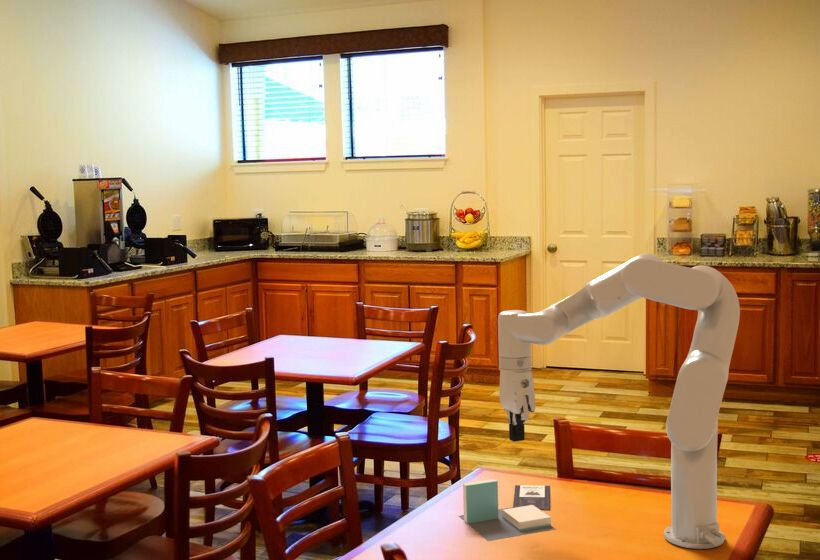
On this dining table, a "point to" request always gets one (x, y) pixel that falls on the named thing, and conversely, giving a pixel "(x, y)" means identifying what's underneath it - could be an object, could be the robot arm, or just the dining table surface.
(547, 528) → the mat
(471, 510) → the tile
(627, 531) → the dining table surface
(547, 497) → the chocolate bar
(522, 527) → the tile
